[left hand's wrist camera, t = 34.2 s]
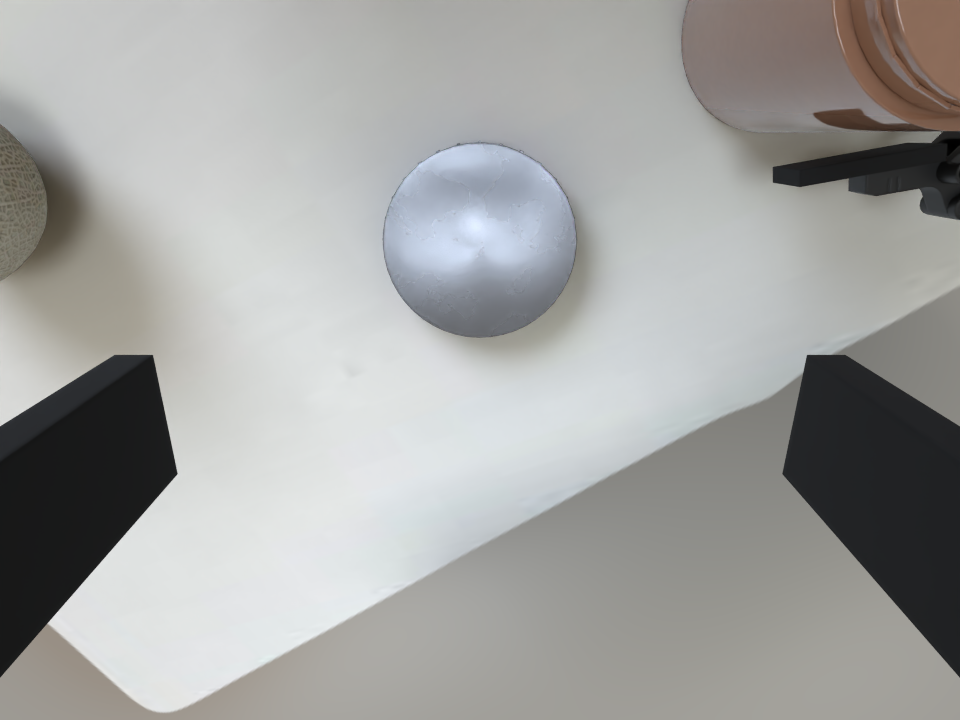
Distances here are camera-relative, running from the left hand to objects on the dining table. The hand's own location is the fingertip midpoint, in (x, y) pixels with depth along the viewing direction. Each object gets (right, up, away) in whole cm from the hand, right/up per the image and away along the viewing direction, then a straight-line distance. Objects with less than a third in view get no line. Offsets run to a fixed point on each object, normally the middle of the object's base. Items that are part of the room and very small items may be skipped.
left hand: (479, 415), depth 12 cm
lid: (0, +8, +22) cm, 23 cm away
